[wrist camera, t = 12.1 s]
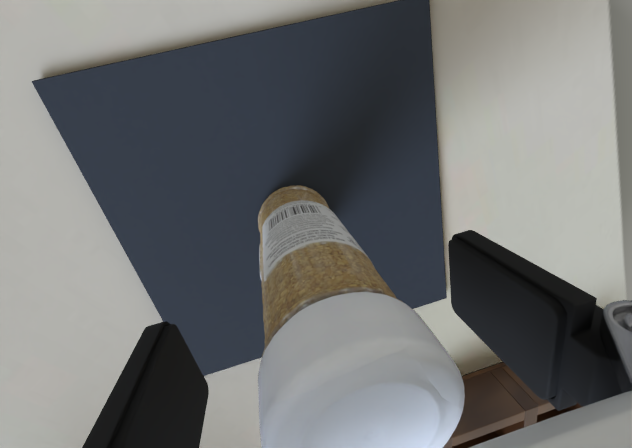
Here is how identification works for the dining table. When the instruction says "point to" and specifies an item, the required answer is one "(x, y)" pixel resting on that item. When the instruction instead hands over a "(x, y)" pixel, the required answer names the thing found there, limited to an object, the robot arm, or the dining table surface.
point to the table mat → (262, 160)
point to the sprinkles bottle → (342, 342)
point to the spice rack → (498, 407)
